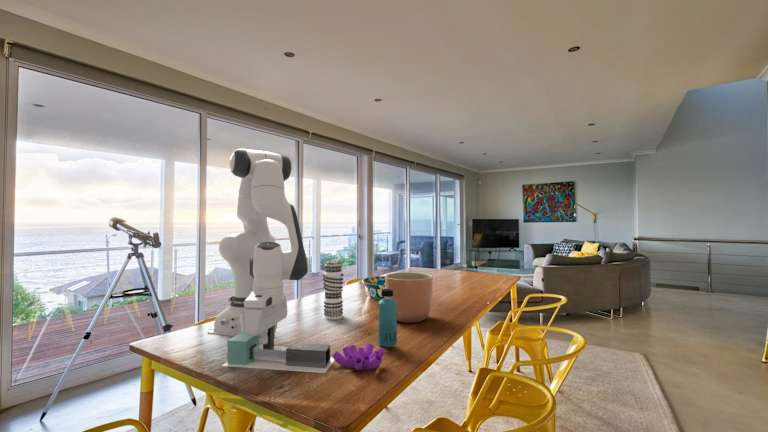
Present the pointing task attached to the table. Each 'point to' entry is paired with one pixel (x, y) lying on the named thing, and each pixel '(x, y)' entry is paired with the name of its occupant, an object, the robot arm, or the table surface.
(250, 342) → the socket block
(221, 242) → the robot arm
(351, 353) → the purple coral
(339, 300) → the decorative candle
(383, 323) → the beverage bottle
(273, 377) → the table surface
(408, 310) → the planter
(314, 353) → the outer sleeve
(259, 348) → the sliding bolt
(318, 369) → the mounting board
